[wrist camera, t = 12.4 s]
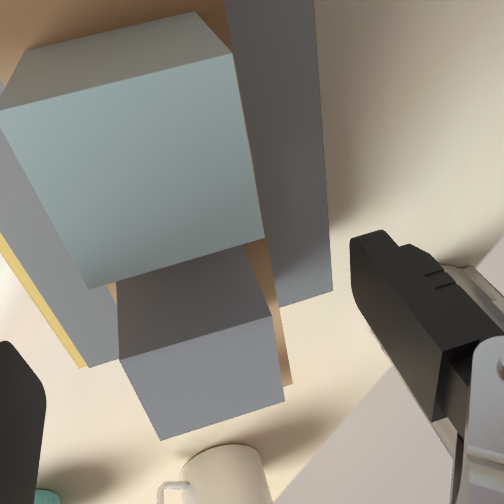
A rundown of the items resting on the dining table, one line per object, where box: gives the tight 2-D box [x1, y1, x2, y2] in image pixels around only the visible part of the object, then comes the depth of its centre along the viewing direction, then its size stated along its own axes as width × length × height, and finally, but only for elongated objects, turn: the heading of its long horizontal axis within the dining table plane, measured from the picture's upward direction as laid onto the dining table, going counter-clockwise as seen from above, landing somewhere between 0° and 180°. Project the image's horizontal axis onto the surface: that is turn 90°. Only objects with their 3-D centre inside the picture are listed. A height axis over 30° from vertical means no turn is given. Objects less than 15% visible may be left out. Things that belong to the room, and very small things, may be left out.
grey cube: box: [116, 245, 285, 441], centre depth 14 cm, size 4×4×4 cm
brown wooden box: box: [0, 0, 293, 387], centre depth 16 cm, size 21×6×6 cm, turn 10°
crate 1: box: [0, 11, 265, 289], centre depth 10 cm, size 4×4×4 cm
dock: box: [0, 0, 333, 368], centre depth 21 cm, size 16×25×5 cm, turn 10°
